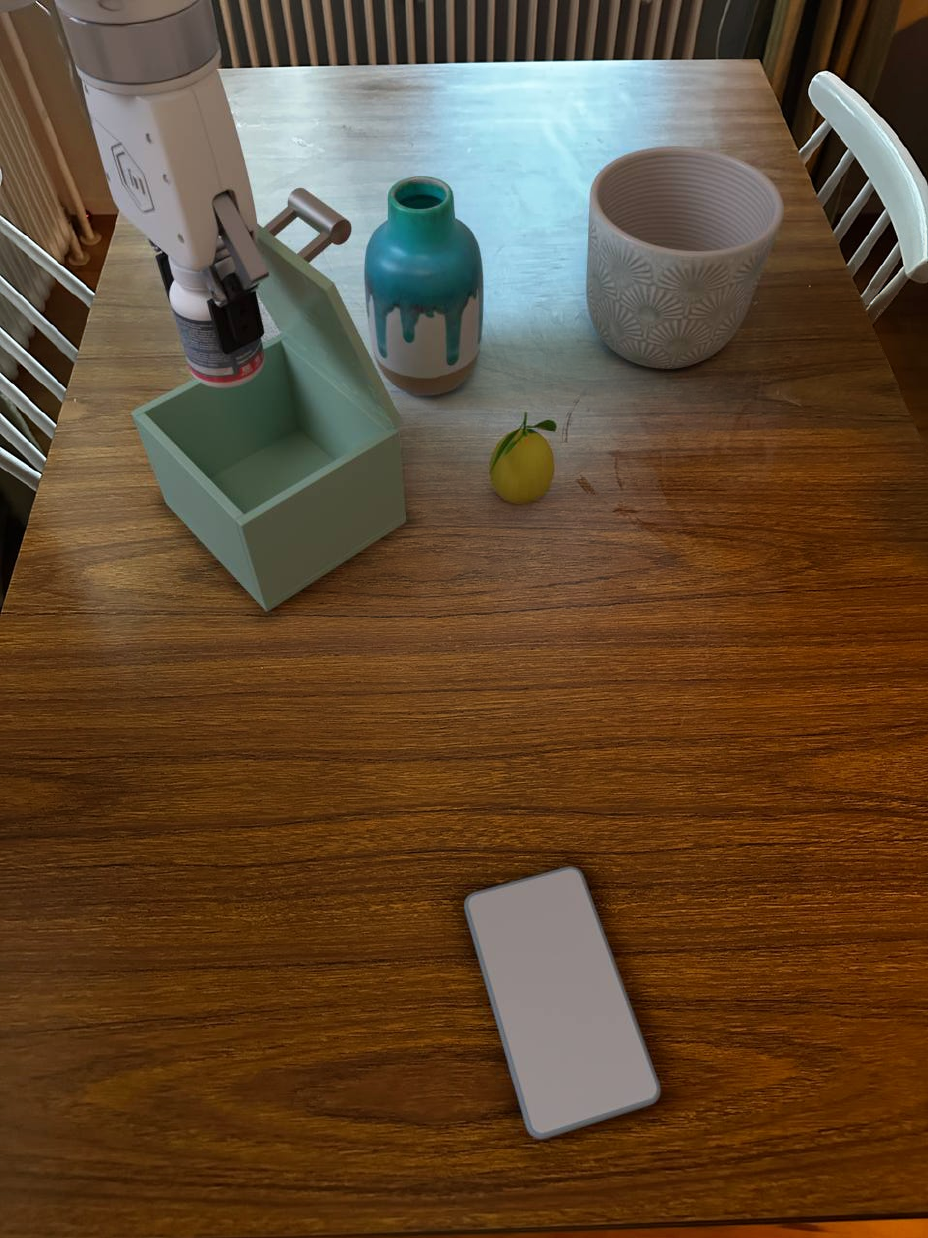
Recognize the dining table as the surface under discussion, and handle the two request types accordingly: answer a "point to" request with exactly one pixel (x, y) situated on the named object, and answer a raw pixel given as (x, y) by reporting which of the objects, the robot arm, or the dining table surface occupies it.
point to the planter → (676, 251)
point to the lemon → (523, 464)
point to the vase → (424, 290)
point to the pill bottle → (209, 331)
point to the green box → (276, 471)
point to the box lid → (318, 301)
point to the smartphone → (559, 1003)
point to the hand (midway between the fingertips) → (216, 318)
